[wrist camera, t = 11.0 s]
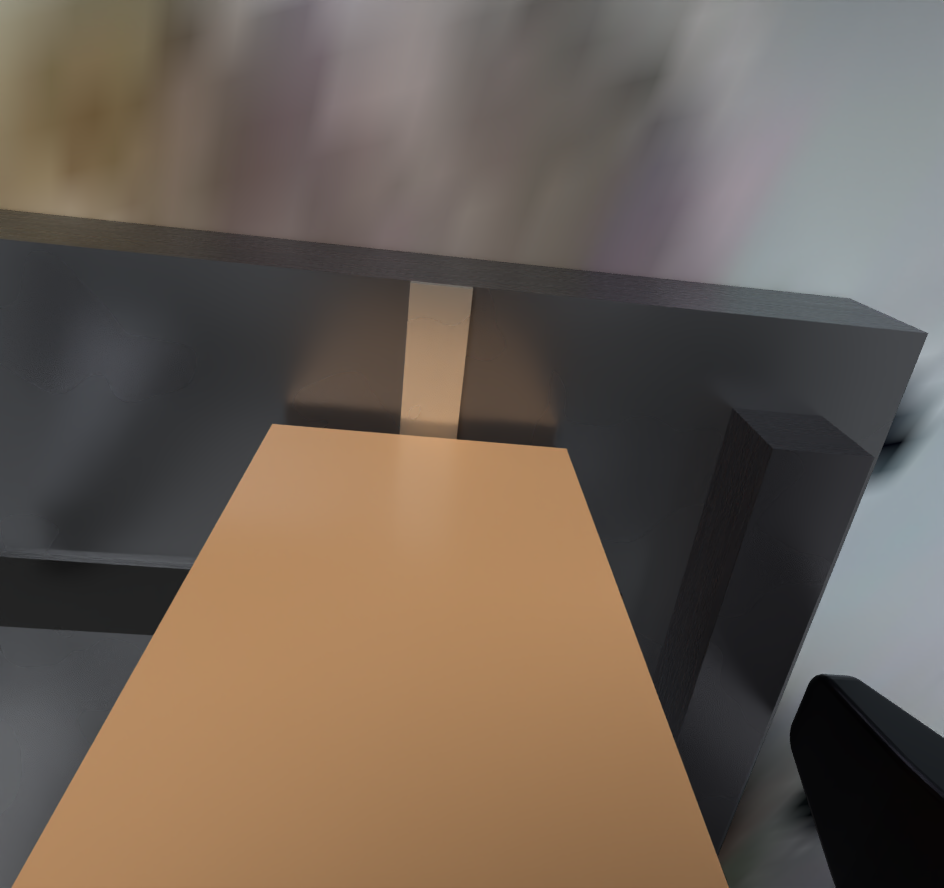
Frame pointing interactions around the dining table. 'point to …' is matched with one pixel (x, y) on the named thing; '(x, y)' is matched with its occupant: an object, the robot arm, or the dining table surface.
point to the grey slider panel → (417, 414)
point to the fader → (388, 693)
